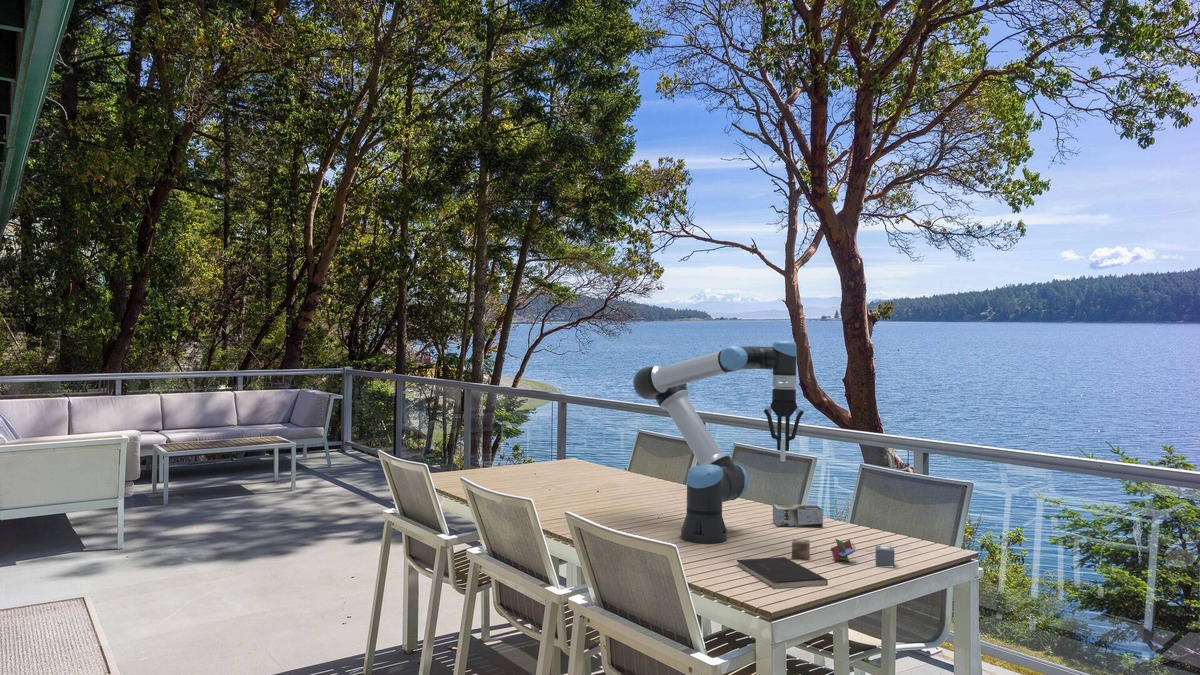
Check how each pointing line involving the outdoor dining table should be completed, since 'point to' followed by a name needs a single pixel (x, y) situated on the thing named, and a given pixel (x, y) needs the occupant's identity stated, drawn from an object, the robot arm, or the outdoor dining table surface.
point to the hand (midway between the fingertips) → (782, 460)
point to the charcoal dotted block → (884, 556)
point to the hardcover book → (781, 572)
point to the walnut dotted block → (800, 549)
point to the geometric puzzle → (842, 550)
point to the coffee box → (797, 515)
